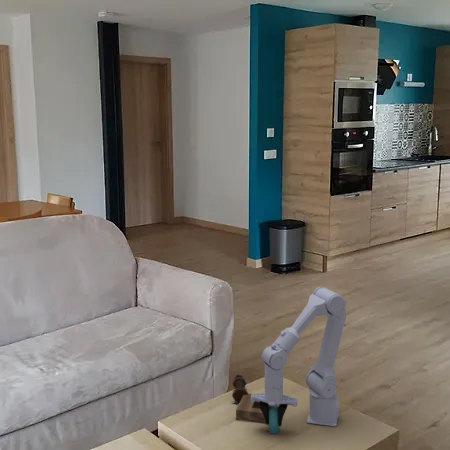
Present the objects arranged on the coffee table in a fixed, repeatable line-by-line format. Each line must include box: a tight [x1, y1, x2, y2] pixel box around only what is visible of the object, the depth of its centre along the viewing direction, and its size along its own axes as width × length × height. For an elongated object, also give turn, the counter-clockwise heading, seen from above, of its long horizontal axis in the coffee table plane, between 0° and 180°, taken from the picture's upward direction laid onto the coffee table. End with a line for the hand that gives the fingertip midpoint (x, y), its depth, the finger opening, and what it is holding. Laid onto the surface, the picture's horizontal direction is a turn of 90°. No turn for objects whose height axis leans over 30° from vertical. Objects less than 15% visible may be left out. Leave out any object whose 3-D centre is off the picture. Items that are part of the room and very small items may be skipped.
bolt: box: [231, 374, 249, 404], centre depth 214 cm, size 6×5×15 cm
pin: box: [268, 405, 280, 435], centre depth 189 cm, size 3×3×8 cm
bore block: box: [235, 393, 280, 424], centre depth 200 cm, size 14×12×4 cm
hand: (273, 424), depth 189 cm, fingers closed on pin, 3 cm apart
